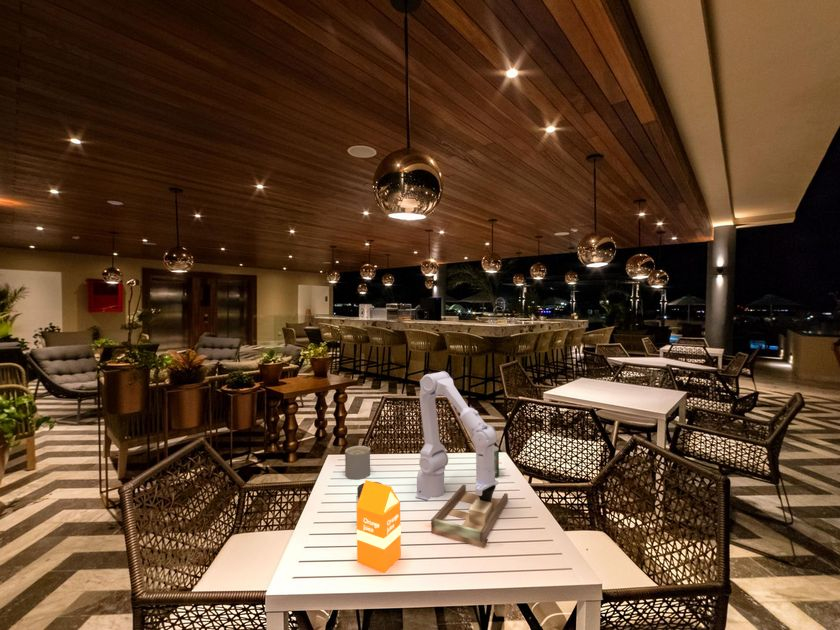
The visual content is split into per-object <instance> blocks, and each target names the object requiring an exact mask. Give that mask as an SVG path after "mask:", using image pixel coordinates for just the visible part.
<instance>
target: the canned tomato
mask: <svg viewBox="0 0 840 630" xmlns="http://www.w3.org/2000/svg"><path fill="white" fill-rule="evenodd" d="M499 455H500V452H499V446H496V445H494V472H495V479H498V478H499V477H500V470H499V469H500V459H499V457H500V456H499Z"/></svg>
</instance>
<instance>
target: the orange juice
mask: <svg viewBox="0 0 840 630" xmlns="http://www.w3.org/2000/svg"><path fill="white" fill-rule="evenodd" d="M375 482H376V481H372V480H368V479H365V481H364V482H363V483H364V486H363V489H362V492H361V495H360V498H359V501H358V504H357V507H356V554H357V555H356V559H357V560H356V561H357V563H358V564H360V565H363V566H366V567H368V568H370V569H373V570H375V571H378V572H379V573H383V574H386V572H387V571H388V570H389V569H390V568H391V567H392V566H394V564H395V563H396V562H398V560H399V559H400V558H401V557H402V553H401V550H402V549H401V547H402V546H401V545H402V543H401V542H402V541H401V537H402V536H401V535H402V530H401V501H400V499H398V497H397V495H396V493H395V491H394V490H393V487H392V486H390V485H387V484H382V483H381V484H379V483H380V482H379V483H375Z"/></svg>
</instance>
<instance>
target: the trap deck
mask: <svg viewBox="0 0 840 630" xmlns="http://www.w3.org/2000/svg"><path fill="white" fill-rule="evenodd" d="M466 486H467V485H466V484H462V485H461V486H460V487H458V488H459V489H457V491H455V492H454V494H453V495H451V497H450V498H449V499H448V501H446V502H445V503H444V504H443V506H442V507H441V508H440V509H439V510H438V511H437V512H436V513H435V515H434V516H433V517H432V518H431V520H430V522H431V523H430V524H431V525H430V526H431V527H430V531H431V532H430V533H431V534H433V535H436V536H440V537H444V538H447V539H451V540H453V541H458V542H462V543H464V544H469V545H471V546H476V547H479V548H483V549H484V548H485V546H486V544H487V543H488V541H489V539H488V536H489V534H490V532H491V531H492V529H493V527H494V525H495V524H496V522H497V521H498V519H499V517H500V515H501V513H502V512H503V510H504V509H505V507H506V505H507V504H508V502H509V498H508V493H506V492H505V493H504V494H503V495H502V497H501V498H500V499H499V498H495V497H492V499H491V503H492V514H491V516H490V517H489V519H488V520H487V522H486V524H485V525H484V526H480V525H477V524H473V523H469V512H466V511H462V510H458V509H455V507H456V506H457V505H458V504H459V503H460V502H461V503H465V504H469V505H470V504H471V505H473V503H474V502H475V501H476V499H477V500H480V498H479V495H475V493H471V492H467V490H466V489H467V487H466ZM448 516H451V517H454V518H458V519H463V520H464V521H463V523H462V524H461V525H460V524H458V523H454V522H450V521H446V520H445V519H446V518H447V517H448Z"/></svg>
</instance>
